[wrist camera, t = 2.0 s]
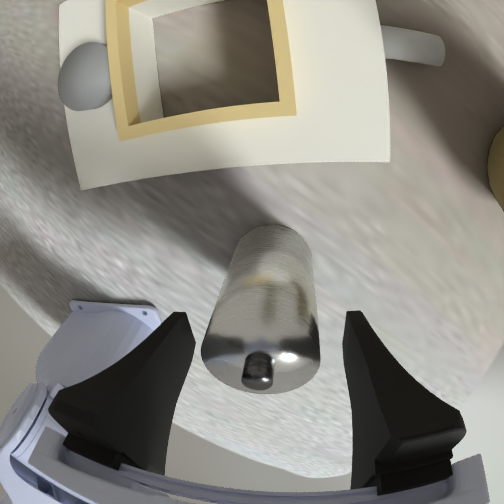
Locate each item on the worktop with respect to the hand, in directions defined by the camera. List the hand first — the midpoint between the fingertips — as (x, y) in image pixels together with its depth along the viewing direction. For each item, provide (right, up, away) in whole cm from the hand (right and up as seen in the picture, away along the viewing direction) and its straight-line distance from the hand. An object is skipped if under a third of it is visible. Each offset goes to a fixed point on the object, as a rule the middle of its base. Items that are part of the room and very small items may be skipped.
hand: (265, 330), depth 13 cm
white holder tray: (-1, +14, 0) cm, 14 cm away
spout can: (+1, +3, +5) cm, 6 cm away
